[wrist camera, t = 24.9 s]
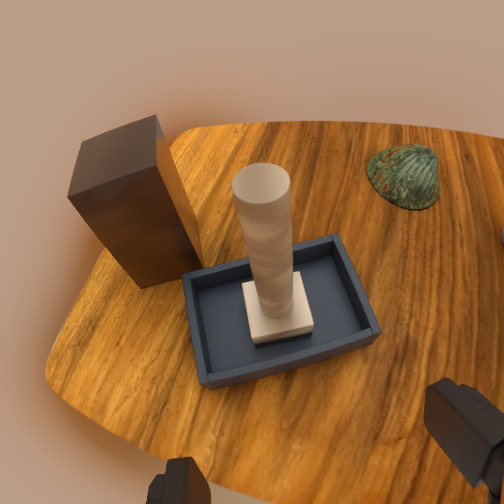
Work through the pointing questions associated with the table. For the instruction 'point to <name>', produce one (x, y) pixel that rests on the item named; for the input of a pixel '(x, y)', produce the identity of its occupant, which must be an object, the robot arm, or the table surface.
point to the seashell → (406, 175)
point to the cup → (502, 235)
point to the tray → (285, 354)
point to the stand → (137, 203)
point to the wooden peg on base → (270, 256)
